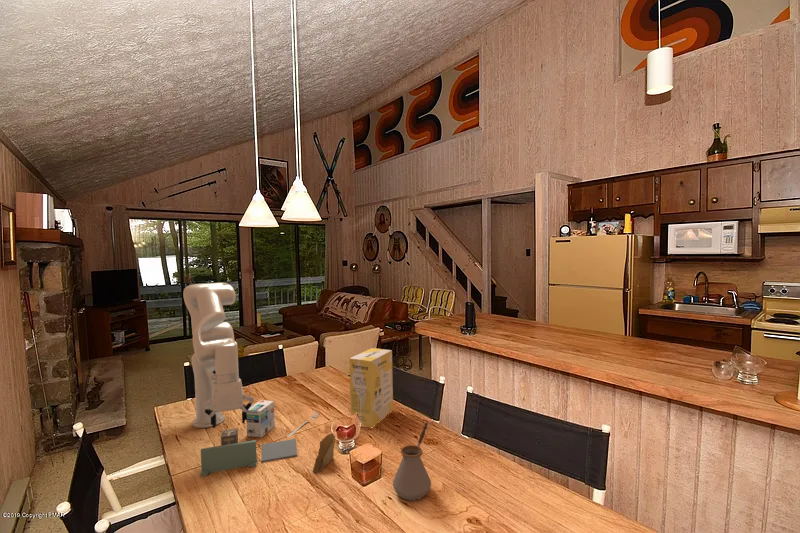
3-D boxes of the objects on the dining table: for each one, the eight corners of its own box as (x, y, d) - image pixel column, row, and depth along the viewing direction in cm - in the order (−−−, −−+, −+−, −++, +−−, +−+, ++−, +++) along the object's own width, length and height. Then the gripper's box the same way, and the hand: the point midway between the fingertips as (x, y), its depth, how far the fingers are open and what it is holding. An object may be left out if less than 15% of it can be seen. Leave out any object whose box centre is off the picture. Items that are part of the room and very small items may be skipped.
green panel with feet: (203, 470, 126) (202, 446, 126) (257, 460, 132) (256, 438, 131) (200, 476, 123) (199, 452, 122) (256, 466, 128) (255, 443, 127)
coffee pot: (424, 509, 105) (423, 456, 104) (386, 499, 109) (385, 449, 109) (444, 468, 125) (444, 423, 124) (412, 461, 129) (411, 418, 129)
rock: (320, 471, 120) (344, 454, 127) (308, 446, 123) (333, 431, 130) (308, 479, 127) (332, 462, 134) (297, 455, 130) (321, 440, 137)
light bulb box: (261, 438, 148) (260, 411, 147) (246, 436, 149) (245, 409, 149) (275, 425, 158) (274, 400, 158) (261, 424, 160) (260, 399, 159)
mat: (262, 445, 142) (262, 444, 142) (295, 440, 145) (295, 438, 145) (261, 462, 130) (261, 460, 130) (297, 456, 134) (297, 454, 134)
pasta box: (373, 407, 175) (371, 348, 173) (393, 411, 170) (391, 350, 169) (351, 423, 158) (349, 358, 157) (372, 428, 154) (370, 361, 152)
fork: (279, 440, 146) (279, 436, 146) (314, 415, 169) (314, 411, 169) (286, 442, 145) (286, 437, 145) (320, 415, 168) (320, 412, 167)
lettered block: (223, 451, 138) (222, 430, 138) (238, 449, 139) (237, 427, 139) (221, 459, 133) (220, 437, 132) (236, 456, 134) (236, 434, 134)
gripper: (198, 383, 129) (200, 432, 129) (252, 377, 134) (254, 424, 135) (202, 377, 136) (204, 423, 136) (253, 371, 141) (255, 416, 142)
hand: (229, 424), depth 136 cm, fingers open, 9 cm apart
